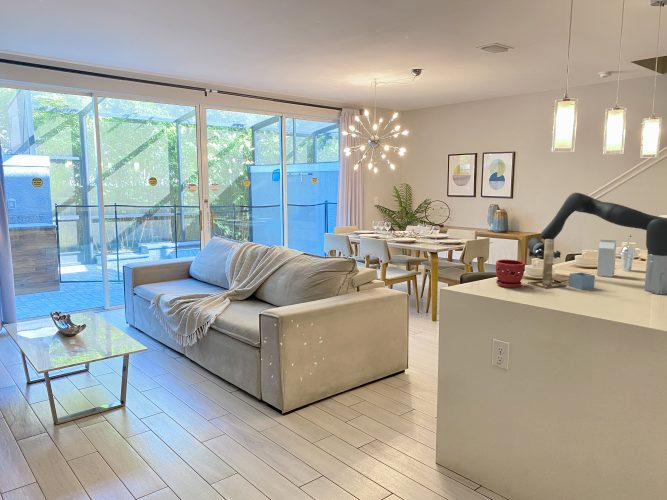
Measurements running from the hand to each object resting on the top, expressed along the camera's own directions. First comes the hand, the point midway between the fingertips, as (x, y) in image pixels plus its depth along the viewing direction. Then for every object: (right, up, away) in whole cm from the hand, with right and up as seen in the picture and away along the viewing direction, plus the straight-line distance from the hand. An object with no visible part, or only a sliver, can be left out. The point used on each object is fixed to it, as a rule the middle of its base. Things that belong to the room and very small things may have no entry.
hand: (546, 255), depth 238 cm
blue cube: (+13, -15, -8) cm, 22 cm away
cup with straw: (+61, -9, +38) cm, 72 cm away
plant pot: (-18, -15, 0) cm, 23 cm away
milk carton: (+42, -11, +24) cm, 49 cm away
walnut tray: (-1, -15, -2) cm, 15 cm away
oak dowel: (-1, -14, -2) cm, 14 cm away
